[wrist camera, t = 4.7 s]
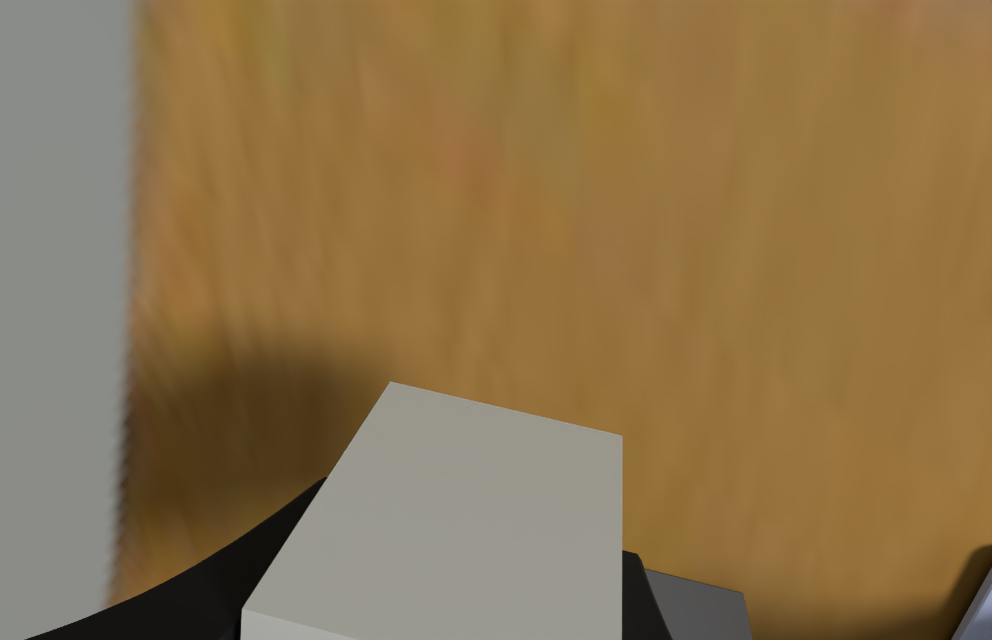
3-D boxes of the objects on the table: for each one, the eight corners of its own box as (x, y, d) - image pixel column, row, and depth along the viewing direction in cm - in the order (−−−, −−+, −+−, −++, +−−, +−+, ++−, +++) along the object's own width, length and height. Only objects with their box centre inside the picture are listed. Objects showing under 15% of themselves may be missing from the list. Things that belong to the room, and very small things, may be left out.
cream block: (622, 435, 14) (621, 709, 8) (571, 616, 16) (543, 940, 10) (390, 381, 14) (241, 609, 9) (366, 563, 16) (230, 848, 10)
